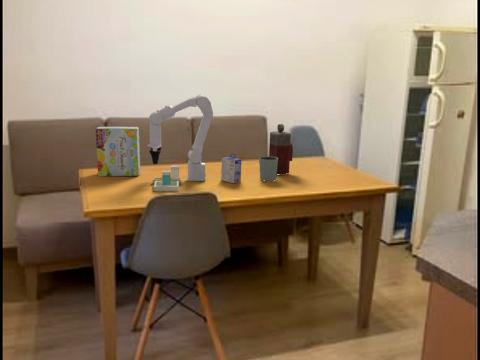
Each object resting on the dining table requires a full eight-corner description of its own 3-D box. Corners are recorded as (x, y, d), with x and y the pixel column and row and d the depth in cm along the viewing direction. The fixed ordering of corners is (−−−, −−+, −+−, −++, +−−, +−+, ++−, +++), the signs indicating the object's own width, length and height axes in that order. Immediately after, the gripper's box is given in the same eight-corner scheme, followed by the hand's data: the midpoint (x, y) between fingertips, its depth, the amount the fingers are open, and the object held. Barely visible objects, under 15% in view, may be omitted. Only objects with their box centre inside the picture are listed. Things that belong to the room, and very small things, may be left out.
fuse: (179, 180, 256) (179, 165, 254) (179, 182, 253) (179, 166, 251) (171, 180, 255) (171, 165, 253) (171, 182, 252) (171, 166, 250)
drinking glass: (275, 182, 262) (276, 160, 259) (256, 181, 264) (257, 159, 261) (278, 178, 271) (279, 156, 268) (259, 177, 273) (260, 155, 270)
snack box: (140, 173, 275) (139, 126, 268) (138, 176, 266) (137, 128, 260) (100, 172, 273) (98, 125, 267) (97, 176, 264) (95, 128, 258)
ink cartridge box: (241, 182, 261) (242, 154, 258) (234, 183, 257) (235, 156, 254) (227, 178, 267) (228, 152, 264) (220, 180, 263) (221, 153, 260)
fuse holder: (181, 181, 258) (181, 176, 257) (181, 185, 251) (181, 180, 250) (153, 181, 256) (153, 176, 256) (152, 185, 249) (152, 180, 249)
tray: (178, 185, 250) (178, 181, 249) (178, 191, 240) (178, 186, 239) (155, 185, 248) (155, 181, 248) (154, 191, 238) (153, 186, 238)
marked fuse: (170, 186, 245) (170, 170, 244) (170, 188, 243) (170, 172, 241) (162, 186, 245) (162, 170, 243) (162, 188, 242) (162, 172, 240)
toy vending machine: (292, 174, 282) (295, 124, 275) (274, 175, 278) (277, 125, 271) (285, 170, 290) (288, 122, 283) (268, 172, 286) (270, 123, 279)
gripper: (148, 134, 261) (148, 159, 264) (146, 138, 247) (146, 165, 250) (162, 134, 262) (162, 159, 265) (160, 138, 248) (161, 165, 251)
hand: (155, 162), depth 257 cm, fingers open, 7 cm apart
